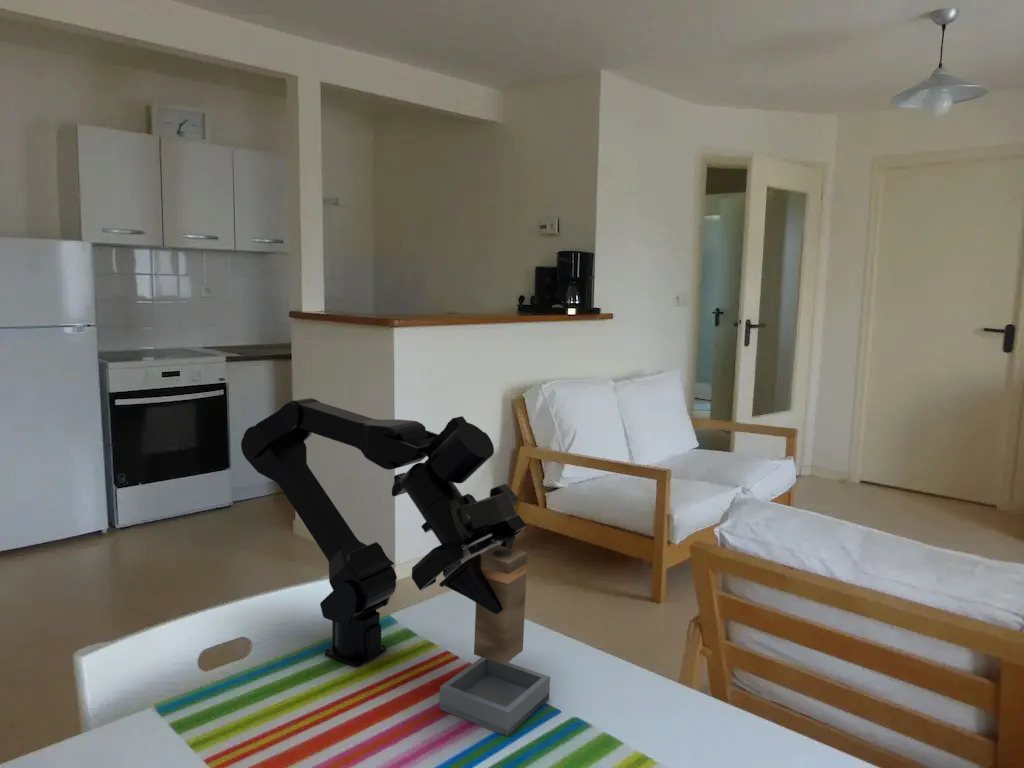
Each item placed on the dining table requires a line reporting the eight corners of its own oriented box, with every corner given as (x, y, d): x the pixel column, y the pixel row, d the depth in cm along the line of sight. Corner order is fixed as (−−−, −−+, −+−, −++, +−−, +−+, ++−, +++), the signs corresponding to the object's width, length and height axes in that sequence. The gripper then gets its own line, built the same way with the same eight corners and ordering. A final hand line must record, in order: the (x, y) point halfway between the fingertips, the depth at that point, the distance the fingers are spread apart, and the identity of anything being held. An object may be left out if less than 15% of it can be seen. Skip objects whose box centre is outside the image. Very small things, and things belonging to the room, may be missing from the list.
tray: (439, 709, 93) (440, 686, 93) (484, 675, 102) (485, 654, 102) (507, 736, 88) (508, 712, 88) (549, 698, 97) (550, 676, 96)
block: (473, 654, 94) (477, 554, 92) (493, 640, 98) (496, 544, 96) (504, 665, 91) (509, 562, 90) (523, 650, 95) (527, 551, 94)
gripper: (434, 482, 86) (512, 598, 81) (516, 455, 102) (586, 550, 97) (380, 535, 91) (451, 646, 86) (466, 500, 107) (530, 593, 102)
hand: (510, 605), depth 93 cm, fingers closed on block, 4 cm apart
